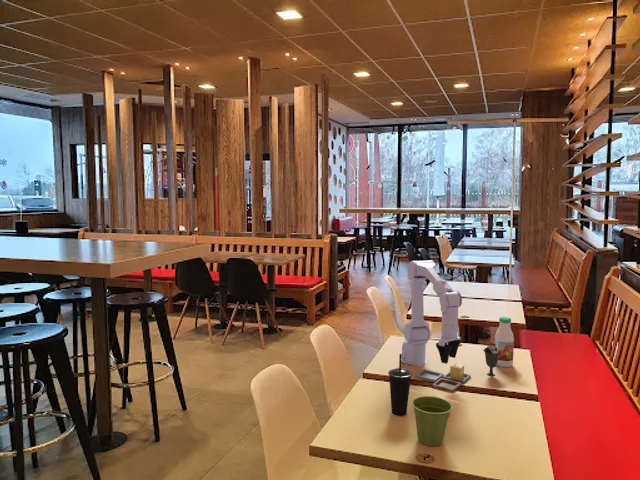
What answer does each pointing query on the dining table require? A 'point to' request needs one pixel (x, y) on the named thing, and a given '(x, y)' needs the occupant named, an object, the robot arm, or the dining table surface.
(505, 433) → the dining table surface
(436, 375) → the left dish
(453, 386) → the front dish
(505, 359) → the milk bottle
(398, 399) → the drinking cup
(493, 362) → the sundae
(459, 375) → the letter cube
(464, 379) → the back dish
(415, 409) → the plant pot
